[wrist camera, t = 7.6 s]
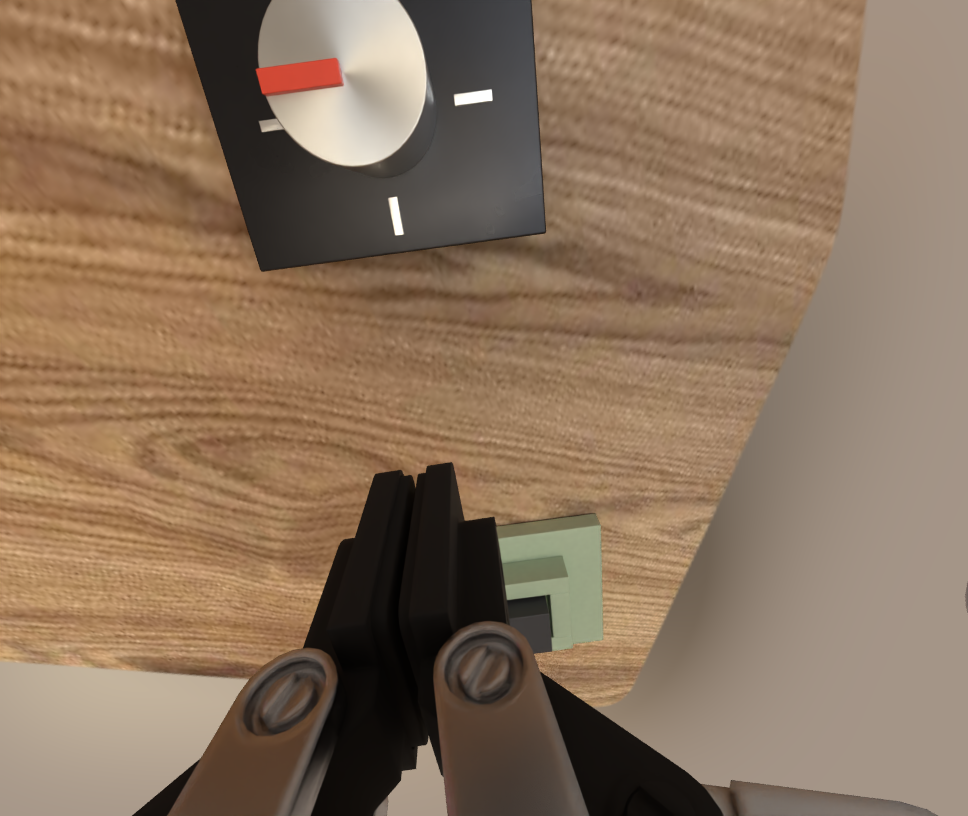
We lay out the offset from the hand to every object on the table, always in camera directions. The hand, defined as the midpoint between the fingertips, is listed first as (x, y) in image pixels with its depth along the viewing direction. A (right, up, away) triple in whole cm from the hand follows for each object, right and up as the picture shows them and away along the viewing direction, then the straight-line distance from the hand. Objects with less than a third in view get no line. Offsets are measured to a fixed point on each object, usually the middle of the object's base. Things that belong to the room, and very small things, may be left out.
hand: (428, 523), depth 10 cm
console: (-3, +15, +9) cm, 18 cm away
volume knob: (-3, +13, +7) cm, 15 cm away
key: (+3, -10, +18) cm, 21 cm away
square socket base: (+3, -9, +20) cm, 23 cm away
